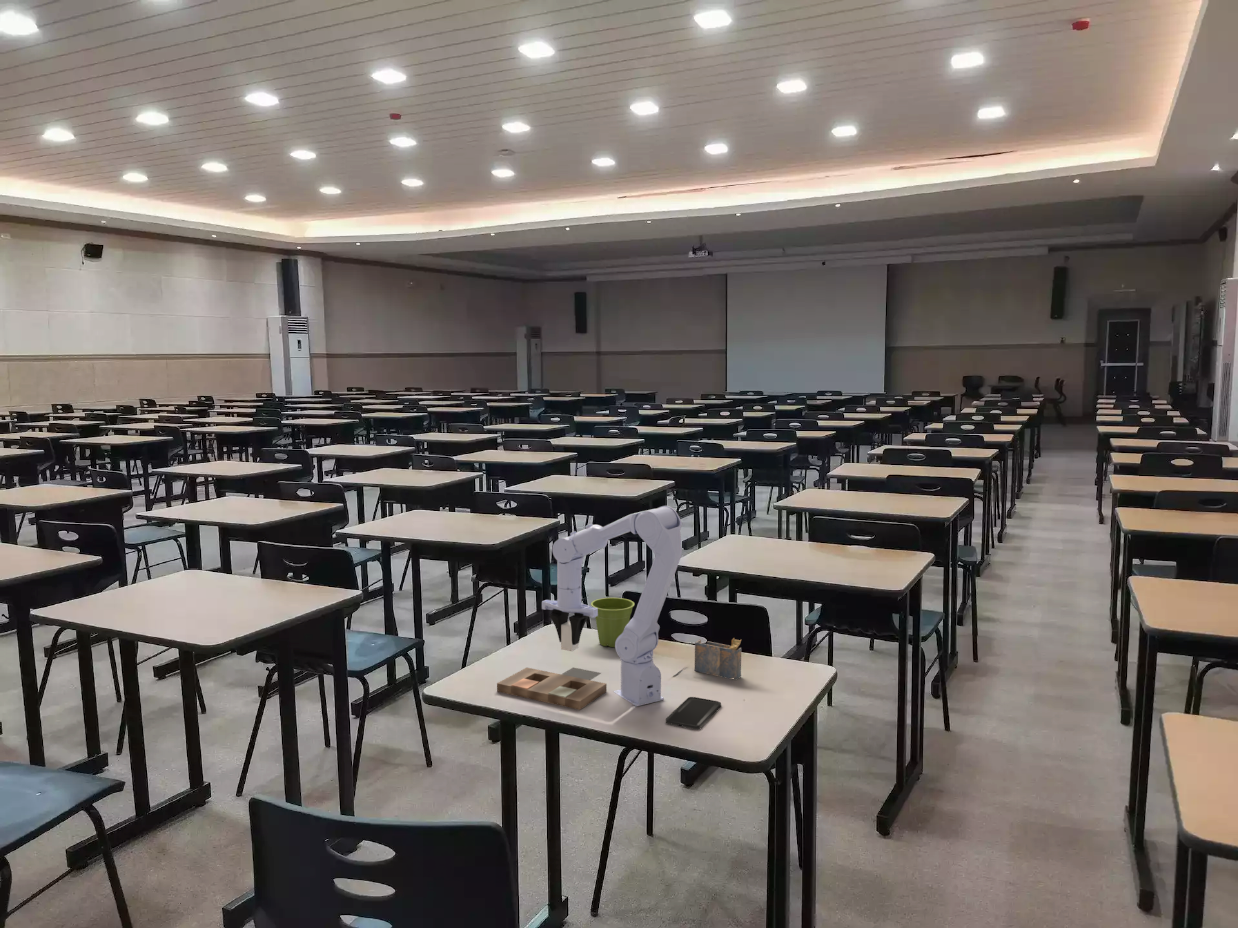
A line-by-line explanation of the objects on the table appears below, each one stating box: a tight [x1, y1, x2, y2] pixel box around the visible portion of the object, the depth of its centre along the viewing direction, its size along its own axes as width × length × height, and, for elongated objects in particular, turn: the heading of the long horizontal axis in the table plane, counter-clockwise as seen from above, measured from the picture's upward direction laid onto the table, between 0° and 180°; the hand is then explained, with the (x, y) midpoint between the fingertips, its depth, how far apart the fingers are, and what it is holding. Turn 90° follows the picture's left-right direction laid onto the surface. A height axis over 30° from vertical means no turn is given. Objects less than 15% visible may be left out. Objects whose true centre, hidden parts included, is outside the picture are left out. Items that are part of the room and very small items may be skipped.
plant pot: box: [590, 597, 635, 648], centre depth 228 cm, size 12×12×11 cm
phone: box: [665, 696, 722, 731], centre depth 182 cm, size 8×1×15 cm
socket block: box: [496, 667, 607, 711], centre depth 192 cm, size 22×12×3 cm, turn 62°
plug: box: [560, 621, 579, 652], centre depth 201 cm, size 3×3×6 cm
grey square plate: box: [561, 667, 602, 681], centre depth 203 cm, size 8×8×1 cm
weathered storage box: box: [694, 637, 742, 680], centre depth 206 cm, size 11×3×10 cm, turn 57°
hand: (569, 642), depth 201 cm, fingers closed on plug, 3 cm apart
